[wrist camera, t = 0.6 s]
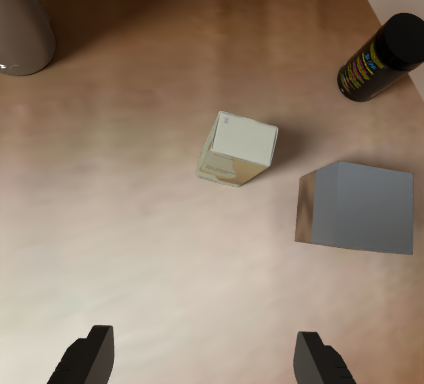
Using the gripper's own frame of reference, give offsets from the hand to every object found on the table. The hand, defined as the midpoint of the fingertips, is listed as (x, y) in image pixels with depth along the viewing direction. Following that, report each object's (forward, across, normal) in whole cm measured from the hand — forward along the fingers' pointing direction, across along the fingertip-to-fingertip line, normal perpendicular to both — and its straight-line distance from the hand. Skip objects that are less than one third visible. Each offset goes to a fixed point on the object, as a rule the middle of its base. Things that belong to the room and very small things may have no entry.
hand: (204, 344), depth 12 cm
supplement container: (+37, -22, -15) cm, 46 cm away
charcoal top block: (+23, -18, +1) cm, 29 cm away
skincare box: (+29, -2, -2) cm, 29 cm away
